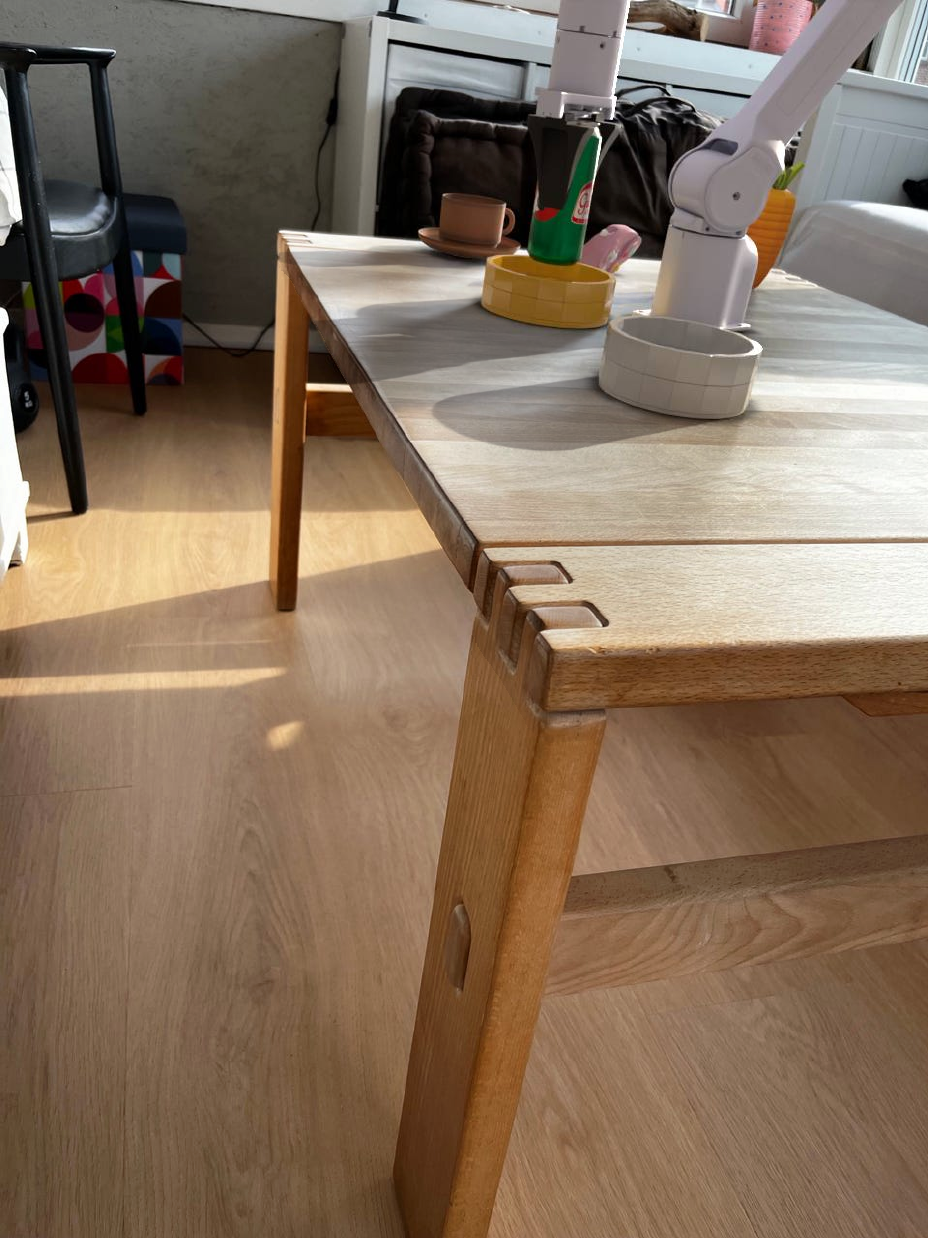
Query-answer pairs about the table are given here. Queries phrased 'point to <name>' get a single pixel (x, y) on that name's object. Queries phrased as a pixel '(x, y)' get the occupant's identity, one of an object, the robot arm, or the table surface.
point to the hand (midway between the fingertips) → (562, 205)
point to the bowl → (547, 292)
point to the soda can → (566, 212)
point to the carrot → (773, 223)
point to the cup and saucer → (471, 228)
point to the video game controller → (610, 248)
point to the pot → (678, 366)
